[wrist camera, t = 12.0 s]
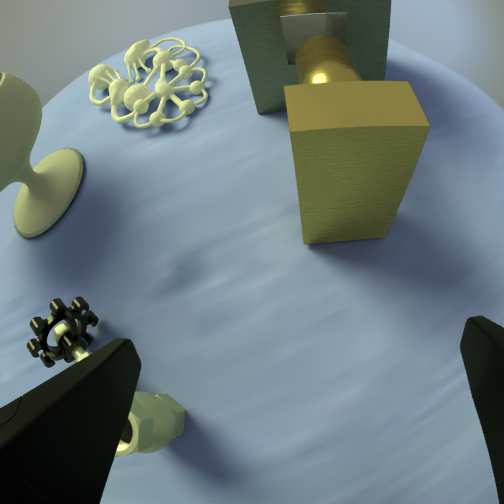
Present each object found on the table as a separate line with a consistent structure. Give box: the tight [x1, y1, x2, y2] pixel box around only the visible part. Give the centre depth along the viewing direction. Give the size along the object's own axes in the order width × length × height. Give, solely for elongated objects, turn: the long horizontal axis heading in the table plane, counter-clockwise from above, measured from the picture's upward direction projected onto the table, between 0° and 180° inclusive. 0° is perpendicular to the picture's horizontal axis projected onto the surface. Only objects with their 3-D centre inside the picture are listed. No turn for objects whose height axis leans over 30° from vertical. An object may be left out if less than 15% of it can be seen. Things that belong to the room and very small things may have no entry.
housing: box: [229, 0, 391, 114], centre depth 24 cm, size 10×12×12 cm
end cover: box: [284, 36, 430, 244], centre depth 19 cm, size 11×6×12 cm, turn 1°
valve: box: [27, 297, 186, 457], centre depth 19 cm, size 7×7×12 cm
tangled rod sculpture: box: [88, 38, 208, 129], centre depth 33 cm, size 19×14×4 cm
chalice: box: [0, 72, 83, 238], centre depth 24 cm, size 14×14×15 cm
